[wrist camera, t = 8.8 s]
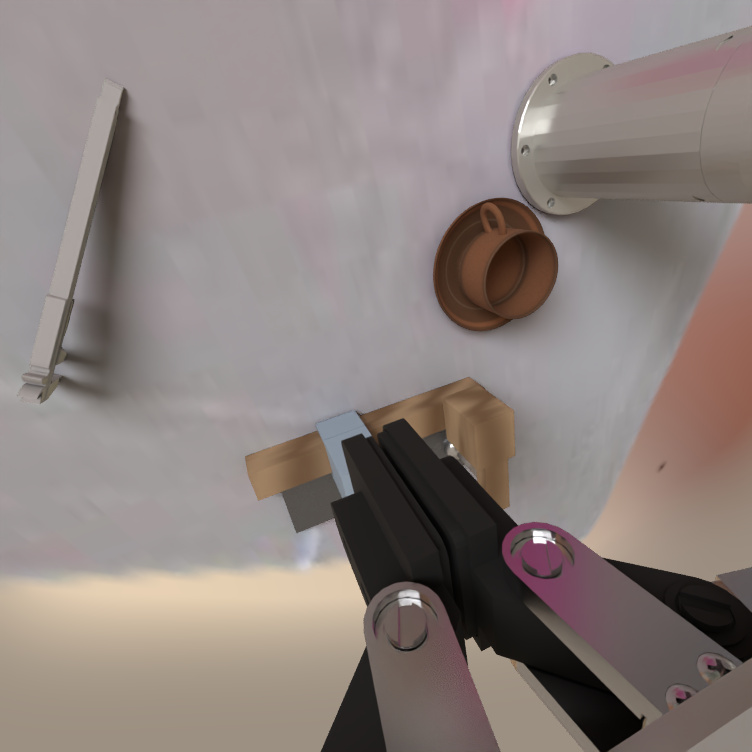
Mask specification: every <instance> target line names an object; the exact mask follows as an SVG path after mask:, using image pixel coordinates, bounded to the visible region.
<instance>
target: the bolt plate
mask: <svg viewBox="0 0 752 752" xmlns="http://www.w3.org/2000/svg"><path fill="white" fill-rule="evenodd" d="M422 439H423V440H424V441H425V443H426V444H427V445H428V446H429V447H430V448H431V450H432V451H433V452H434V453H435V454H436V455H437V456H438V458H439V459H441V458H444V457H446V456H449V455H450V456H453V457H454V458H455V459H457V460H458V462H459V463H460V464H461V465H464V463H463V462H462V461H461V460H460V459H459V458H458V457H457V453H458V450H457V449H456V448H455V447H454V446H453V445H452V444H451V443H450V442H449V441H448V440H447V435H446V429H444V430H442V431H439V432H437V433H434V434H431V435H429V436H426V437H423V438H422ZM282 495H283V498H284V500H285V503H286V506H287V509H288V511H289V514H290V517H291V519H292V522H293V525H294V528H295V530H296V533H298V532H301V531H303V530H305V529H308V528H310V527H313V526H315V525H318V524H320V523H322V522H325V521H327V520H330V519H332V518H334V515H333V511H332V508H331V504H330V503H331V502H334V501H336V500H339V499H341V498H342V497H341V494H340V492H339V490H338V488H337V485H336V483H335V481H334V479H333V476H332V474H331V473H329V474H327V475H324V476H322V477H319V478H316V479H314V480H311V481H308V482H306V483H303V484H301V485H298V486H295V487H293V488H290V489H288V490H285V491H282Z"/></svg>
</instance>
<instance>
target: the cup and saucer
mask: <svg viewBox="0 0 752 752" xmlns="http://www.w3.org/2000/svg"><path fill="white" fill-rule="evenodd" d="M557 273H558V257H557V253H556V250H555V247H554V245H553V243H552V242H551V241H550V239H549V238H548V237H546V236H545V235H544V231H543V229H542V226H541V224H540V222H539V220H538V218H537V217H536V215H535V214H534V213H533V212H532V211H531V210H530V209H529V208H528V207H527V206H525V205H524V204H522V203H521V202H519V201H516V200H513V199H509V198H493V199H488V200H485V201H482V202H480V203H477V204H475V205H473V206H471V207H470V208H468V209H467V210H465V211H464V212H463V213H462V214H461V215H459V216H458V217H457V218H456V219H455V221H454V222H453V223H452V224H451V225H450V227H449V228H448V230H447V231H446V233H445V234H444V236H443V238H442V240H441V242H440V245H439V247H438V250H437V253H436V257H435V262H434V269H433V281H434V289H435V293H436V296H437V299H438V302H439V304H440V306H441V307H442V309H443V311H444V312H445V313H446V315H447V316H448V317H449V318H450V319H451V320H452V321H454V322H455V323H456V324H458V325H459V326H461V327H464V328H466V329H469V330H474V331H486V330H491V329H495V328H498V327H500V326H502V325H504V324H506V323H508V322H510V321H511V320H512V319H519V318H523V317H525V316H528V315H530V314H531V313H533V312H534V311H536V310H537V309H538V308H539V307H540V306H541V305H542V304H543V303H544V302H545V301H546V299H547V298H548V296H549V295H550V293H551V291H552V289H553V287H554V284H555V281H556V278H557Z"/></svg>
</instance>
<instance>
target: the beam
mask: <svg viewBox="0 0 752 752" xmlns="http://www.w3.org/2000/svg"><path fill="white" fill-rule="evenodd" d="M359 418H360V419H361V421H362V422H363V423H364V425H365V426H366V428H367V429H368V431H369V432H370V434H371V435H372V436H373V438H374V439H375V441H376V442H377V444H378V445H379V443H378V438H377V434H378V433H380V432H383V425H385V424H388V423H391V422H394V421H396V420H399V419H402V418H404V419H405V420H406V421H407V422H408V423H409V424H410V425H411V426H412V428H413V429H414V430H415V431H416V432H417V433H418V435H419V436H420V437H421V438H423V437H426V436H429V435H431V434H434V433H437V432H439V431H442V430H444V429H446V435H447V440H448V441H449V442H450V443H451V444H452V445H453V446H454V447H455V448H456V449H457V450H458V453H457V457H458V458H459V459H460V460H461V461H462V462H463V463H464V464H465V465H466V466H467V467H468V468H469V469H470V470H471V471H472V472H473V474H474V475H475V476H476V477H477V482H478V483H479V484H480V485H481V486H482V487H483V488H484V490H485V491H486V492H487V493H488V494H489V495H490V496H491V497H492V498H493V499H494V500H495V501H496V502H497V504H498V505H499V506H500V507H501V508H502V509H505V508H507V507H509V506H510V504H509V478H508V458H511V457H513V456H515V434H514V410H513V409H511V408H510V407H508V406H507V405H506V404H504V403H503V402H501V401H500V400H499V399H497V398H496V397H495V396H493V395H492V394H490V393H489V392H488V391H486V390H485V388H484V387H482V386H481V385H480V384H478V383H477V382H475V381H474V380H473V379H471V378H470V377H468V378H465V379H462V380H459V381H456V382H454V383H451V384H448V385H445V386H442V387H440V388H437V389H434V390H431V391H428V392H425V393H423V394H420V395H417V396H414V397H411V398H409V399H406V400H403V401H400V402H397V403H394V404H392V405H389V406H386V407H383V408H380V409H378V410H375V411H372V412H369V413H366V414H364V415H361V416H359ZM245 459H246V465H247V471H248V476H249V479H250V481H251V484H252V486H253V489H254V491H255V493H256V496H257V498H258V501H259V500H261V499H264V498H267V497H269V496H272V495H274V494H277V493H280V492H282V491H285V490H288V489H290V488H293V487H295V486H298V485H301V484H303V483H306V482H308V481H311V480H314V479H316V478H319V477H322V476H324V475H327V474H329V473H332V469H331V466H330V462H329V459H328V455H327V452H326V448H325V445H324V443H323V441H322V439H321V437H320V435H319V433H318V431H316V432H313V433H310V434H307V435H304V436H302V437H299V438H296V439H293V440H290V441H287V442H285V443H282V444H279V445H276V446H273V447H271V448H268V449H265V450H262V451H259V452H256V453H254V454H251V455H248V456H245Z"/></svg>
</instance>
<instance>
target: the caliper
mask: <svg viewBox="0 0 752 752" xmlns="http://www.w3.org/2000/svg"><path fill="white" fill-rule="evenodd" d="M123 90H124V87H122V86H120V85H118V84H116V83H114V82H112V81H110V80H108V79H105V81H104V82H103V86H102V90H101V94H100V97H98V98H97V102H96V106H95V110H94V114H93V118H92V122H91V126H90V130H89V134H88V138H87V142H86V146H85V150H84V154H83V158H82V162H81V166H80V170H79V174H78V178H77V182H76V186H75V190H74V194H73V198H72V202H71V206H70V210H69V214H68V219H67V223H66V227H65V231H64V235H63V239H62V243H61V247H60V251H59V255H58V259H57V263H56V267H55V271H54V275H53V279H52V283H51V287H50V291H49V294H48V295H47V296H46V300H45V304H44V308H43V312H42V316H41V320H40V324H39V328H38V332H37V336H36V340H35V344H34V348H33V352H32V356H31V360H30V364H29V365H30V366H31V368H30V370H29V372H28V373H25V374H23V375H22V379H23V381H25V382H26V383H25V384H24V385H23V386H22V387H21V389H20V390H19V392H18V394H17V396H19V397H22V398H21V401H23V402H29V403H35V404H41V403H43V402H44V401H46V400H47V399H48V398H49V397H50V395H51V394H52V393H53V391H54V390H55V389H56V387H57V386H58V384H59V383H60V380H61V377H62V375H57V374H53V373H54V369H55V365H58V364H60V363H62V362H63V361H64V360H65V359H66V355H67V353H66V352H65V350H64V349H63V348H62V347H61V346H62V342H63V338H64V336H65V333H66V330H67V327H68V323H69V320H70V314H71V311H72V308H73V304H74V299H72V298H73V294H74V290H75V286H76V283H77V279H78V275H79V271H80V267H81V263H82V259H83V255H84V251H85V247H86V243H87V239H88V235H89V231H90V227H91V223H92V219H93V215H94V211H95V207H96V203H97V199H98V196H99V192H100V188H101V184H102V180H103V176H104V172H105V168H106V164H107V160H108V156H109V152H110V148H111V145H112V141H113V137H114V132H115V127H116V123H117V118H118V114H119V106H120V102H121V98H122V94H123Z"/></svg>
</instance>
